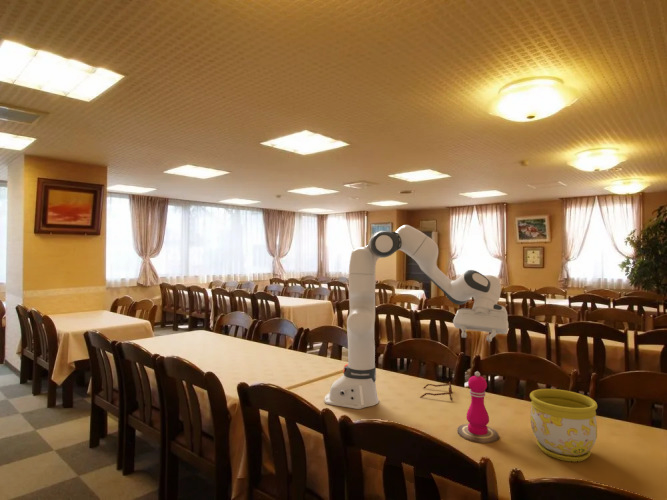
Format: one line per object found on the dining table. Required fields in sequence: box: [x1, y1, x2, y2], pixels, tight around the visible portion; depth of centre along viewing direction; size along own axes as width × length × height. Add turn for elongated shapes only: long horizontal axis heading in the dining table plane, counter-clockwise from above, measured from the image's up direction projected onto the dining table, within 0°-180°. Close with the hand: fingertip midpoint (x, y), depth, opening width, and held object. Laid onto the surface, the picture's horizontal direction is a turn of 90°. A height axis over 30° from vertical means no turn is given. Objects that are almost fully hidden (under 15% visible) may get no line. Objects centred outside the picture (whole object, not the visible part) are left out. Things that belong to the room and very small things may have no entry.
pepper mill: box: [466, 371, 490, 435], centre depth 135 cm, size 7×7×20 cm
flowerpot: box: [529, 388, 598, 463], centre depth 123 cm, size 18×18×16 cm
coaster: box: [456, 423, 499, 444], centre depth 135 cm, size 13×13×1 cm
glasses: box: [419, 381, 453, 401], centre depth 175 cm, size 13×13×5 cm
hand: (475, 338), depth 152 cm, fingers open, 8 cm apart
